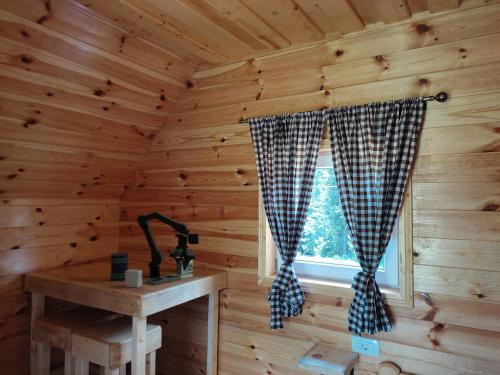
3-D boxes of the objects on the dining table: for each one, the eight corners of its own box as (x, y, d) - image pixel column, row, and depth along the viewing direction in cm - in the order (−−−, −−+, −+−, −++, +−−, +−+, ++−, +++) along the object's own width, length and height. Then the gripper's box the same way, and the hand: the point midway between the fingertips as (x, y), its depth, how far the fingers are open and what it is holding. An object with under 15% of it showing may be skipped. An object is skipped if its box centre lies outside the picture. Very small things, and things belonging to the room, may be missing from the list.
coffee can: (191, 269, 248) (191, 248, 249) (193, 272, 238) (193, 250, 239) (176, 270, 245) (176, 249, 246) (177, 273, 235) (177, 251, 236)
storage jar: (107, 281, 211) (108, 255, 211) (113, 278, 220) (113, 253, 221) (125, 281, 211) (125, 255, 212) (129, 277, 221) (130, 253, 222)
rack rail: (145, 282, 208) (145, 279, 208) (171, 277, 222) (171, 274, 222) (155, 285, 202) (155, 281, 202) (181, 279, 216) (181, 276, 216)
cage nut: (176, 273, 225) (176, 260, 225) (182, 272, 228) (182, 259, 229) (181, 275, 221) (181, 261, 222) (187, 273, 225) (188, 260, 225)
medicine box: (142, 286, 201) (142, 270, 201) (137, 287, 196) (137, 271, 197) (129, 285, 203) (129, 269, 203) (124, 287, 198) (124, 270, 199)
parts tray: (171, 276, 224) (171, 274, 224) (183, 274, 231) (183, 272, 231) (180, 279, 218) (180, 276, 218) (192, 276, 225) (192, 274, 225)
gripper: (162, 244, 225) (162, 269, 225) (181, 246, 213) (181, 273, 213) (176, 242, 234) (176, 267, 233) (196, 245, 222) (195, 271, 221)
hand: (182, 269), depth 225 cm, fingers closed on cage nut, 5 cm apart
